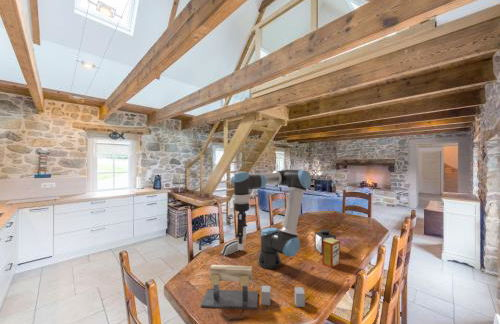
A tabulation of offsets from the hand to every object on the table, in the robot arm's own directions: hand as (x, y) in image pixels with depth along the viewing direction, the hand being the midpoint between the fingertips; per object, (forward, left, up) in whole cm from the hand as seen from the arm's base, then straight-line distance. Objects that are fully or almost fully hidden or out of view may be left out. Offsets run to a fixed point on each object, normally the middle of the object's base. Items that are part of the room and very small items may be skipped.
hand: (242, 244), depth 106 cm
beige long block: (+5, -5, -15) cm, 17 cm away
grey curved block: (-50, -12, -26) cm, 58 cm away
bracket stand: (+5, -5, -25) cm, 26 cm away
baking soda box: (-36, +56, -25) cm, 72 cm away
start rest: (+5, +20, -25) cm, 33 cm away
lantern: (-57, +58, -25) cm, 86 cm away
